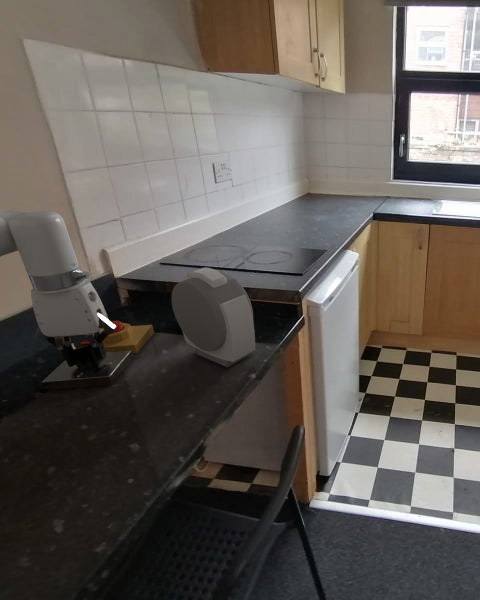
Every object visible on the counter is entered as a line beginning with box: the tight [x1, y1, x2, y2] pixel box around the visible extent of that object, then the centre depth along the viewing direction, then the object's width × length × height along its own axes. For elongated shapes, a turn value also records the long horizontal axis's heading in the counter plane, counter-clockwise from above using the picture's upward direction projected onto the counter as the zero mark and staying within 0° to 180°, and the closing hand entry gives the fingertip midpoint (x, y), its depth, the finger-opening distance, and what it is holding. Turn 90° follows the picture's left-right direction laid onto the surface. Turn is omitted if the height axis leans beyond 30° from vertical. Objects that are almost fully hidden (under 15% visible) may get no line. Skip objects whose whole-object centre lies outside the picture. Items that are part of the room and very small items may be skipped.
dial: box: [69, 338, 98, 370], centre depth 82 cm, size 4×4×5 cm
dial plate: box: [41, 350, 134, 391], centre depth 83 cm, size 12×10×2 cm
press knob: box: [102, 320, 123, 334], centre depth 93 cm, size 4×4×2 cm
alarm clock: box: [171, 266, 256, 368], centre depth 86 cm, size 18×8×20 cm, turn 59°
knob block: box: [93, 322, 155, 355], centre depth 94 cm, size 12×10×4 cm
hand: (87, 361), depth 83 cm, fingers closed on dial, 4 cm apart
